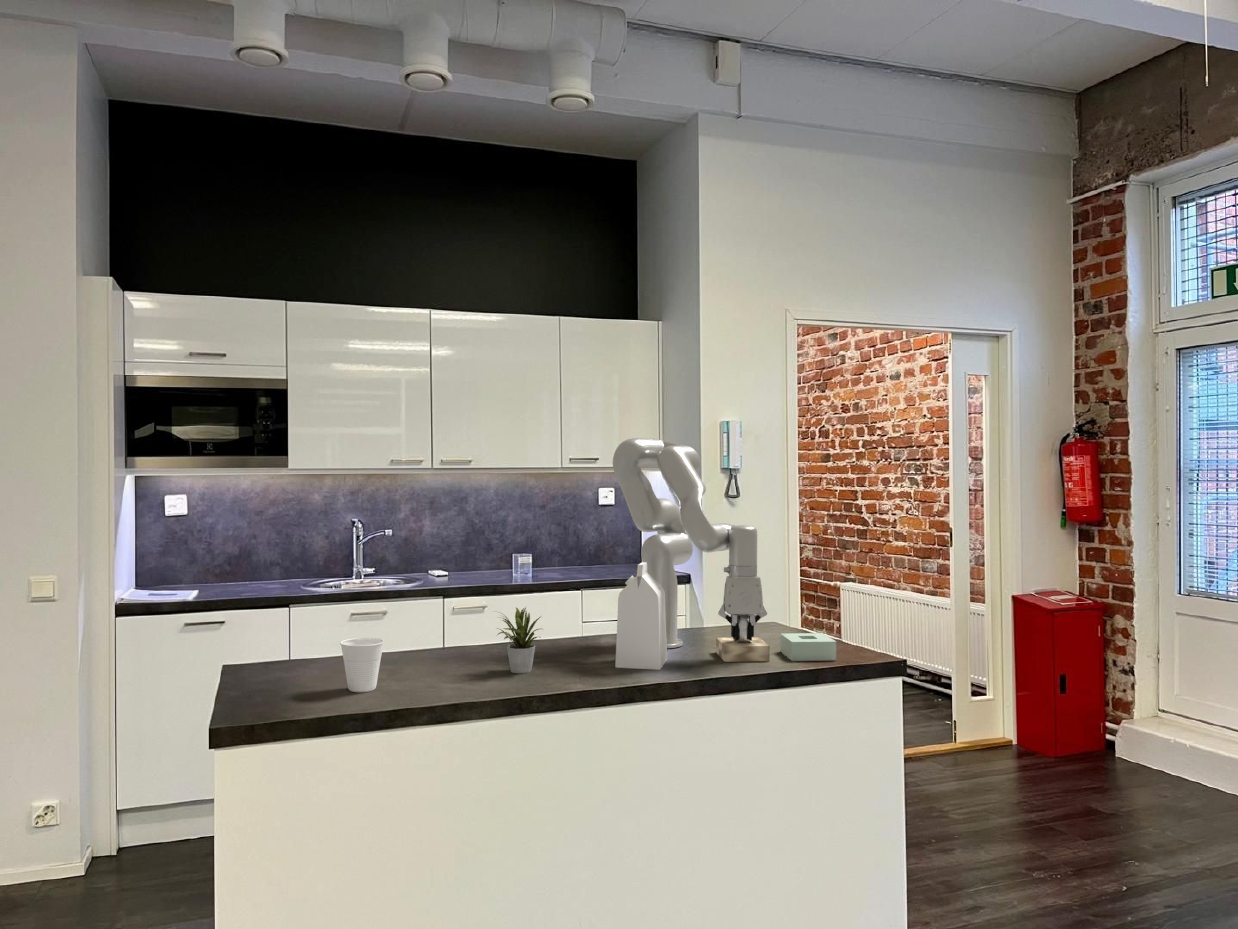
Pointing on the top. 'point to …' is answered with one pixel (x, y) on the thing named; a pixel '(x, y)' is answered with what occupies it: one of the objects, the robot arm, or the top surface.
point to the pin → (742, 628)
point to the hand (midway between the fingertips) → (742, 639)
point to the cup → (362, 662)
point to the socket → (807, 646)
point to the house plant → (520, 643)
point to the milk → (641, 623)
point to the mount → (742, 650)
